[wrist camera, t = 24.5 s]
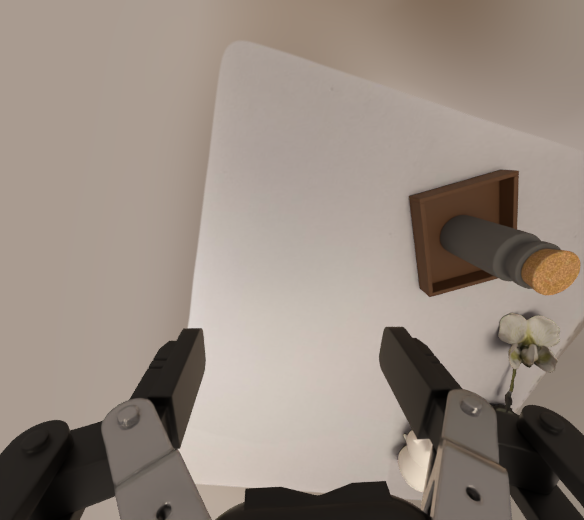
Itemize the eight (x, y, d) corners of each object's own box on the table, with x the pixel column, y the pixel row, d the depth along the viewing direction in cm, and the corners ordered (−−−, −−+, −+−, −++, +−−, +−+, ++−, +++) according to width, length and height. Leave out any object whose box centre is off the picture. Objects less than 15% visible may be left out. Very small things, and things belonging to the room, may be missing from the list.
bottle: (484, 235, 41) (595, 275, 27) (450, 259, 42) (540, 311, 28) (466, 206, 39) (575, 232, 25) (432, 232, 40) (517, 272, 26)
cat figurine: (441, 469, 45) (426, 515, 49) (468, 436, 52) (453, 479, 55) (395, 429, 52) (385, 473, 56) (424, 404, 58) (413, 445, 62)
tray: (408, 196, 38) (419, 199, 36) (500, 169, 38) (518, 170, 35) (419, 288, 44) (429, 297, 41) (500, 266, 43) (516, 273, 41)
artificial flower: (465, 404, 56) (489, 446, 46) (491, 301, 50) (524, 325, 41) (514, 413, 54) (550, 459, 45) (546, 308, 49) (594, 334, 39)
